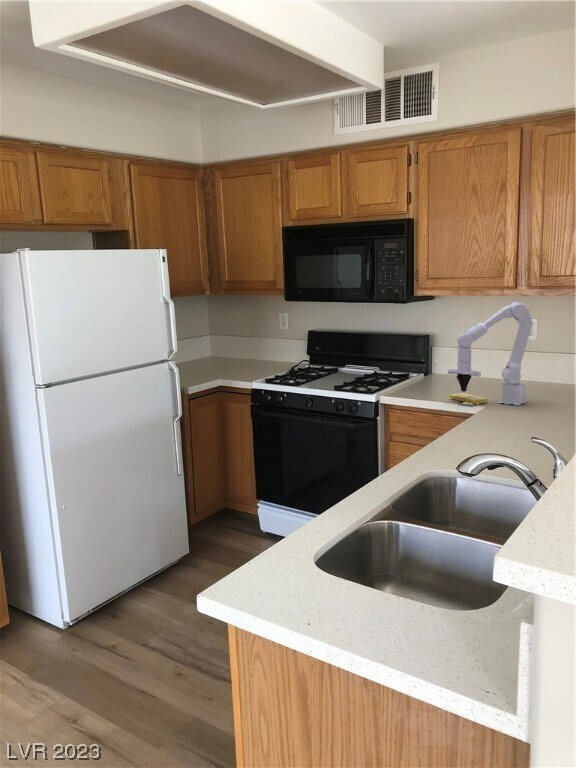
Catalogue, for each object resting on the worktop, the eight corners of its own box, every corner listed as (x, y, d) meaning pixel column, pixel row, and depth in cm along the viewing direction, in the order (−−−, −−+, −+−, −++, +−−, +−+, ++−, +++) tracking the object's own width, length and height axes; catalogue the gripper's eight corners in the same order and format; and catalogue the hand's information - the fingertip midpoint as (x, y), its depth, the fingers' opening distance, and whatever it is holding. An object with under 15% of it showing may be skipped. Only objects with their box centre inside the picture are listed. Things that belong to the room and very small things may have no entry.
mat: (482, 402, 273) (482, 402, 272) (472, 406, 265) (472, 406, 265) (468, 401, 277) (468, 400, 277) (457, 404, 270) (457, 404, 270)
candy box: (472, 404, 268) (487, 402, 271) (472, 400, 267) (487, 397, 270) (449, 398, 283) (464, 396, 286) (449, 394, 282) (464, 392, 285)
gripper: (483, 360, 269) (483, 391, 271) (452, 358, 278) (452, 388, 280) (477, 362, 263) (476, 393, 266) (445, 360, 272) (445, 390, 275)
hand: (463, 391), depth 272 cm, fingers closed
